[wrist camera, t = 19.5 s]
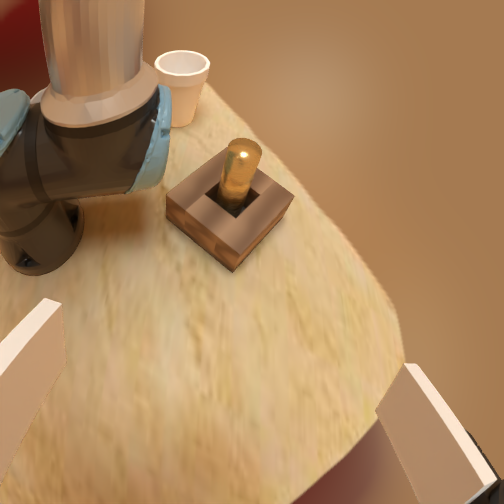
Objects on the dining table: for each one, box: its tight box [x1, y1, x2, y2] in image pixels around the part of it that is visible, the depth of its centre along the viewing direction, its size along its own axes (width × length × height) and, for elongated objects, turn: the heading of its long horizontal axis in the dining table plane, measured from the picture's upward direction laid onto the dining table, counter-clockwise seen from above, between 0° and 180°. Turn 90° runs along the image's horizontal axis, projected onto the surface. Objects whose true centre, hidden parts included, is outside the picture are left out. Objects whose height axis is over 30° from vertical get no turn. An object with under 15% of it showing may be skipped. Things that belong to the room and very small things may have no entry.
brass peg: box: [215, 138, 262, 219], centre depth 41 cm, size 4×4×14 cm
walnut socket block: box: [166, 147, 294, 273], centre depth 45 cm, size 13×13×6 cm
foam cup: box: [154, 51, 210, 127], centre depth 50 cm, size 10×9×13 cm
